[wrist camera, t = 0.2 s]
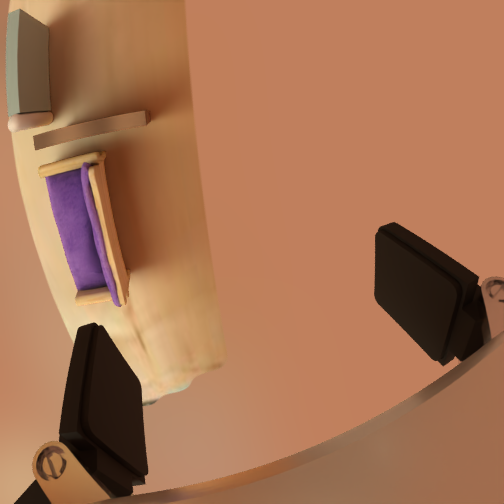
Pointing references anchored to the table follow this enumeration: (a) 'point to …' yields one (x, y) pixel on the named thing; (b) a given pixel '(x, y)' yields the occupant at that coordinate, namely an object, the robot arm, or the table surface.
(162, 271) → the table surface
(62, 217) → the toy sofa
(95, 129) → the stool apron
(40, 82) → the grey panel
